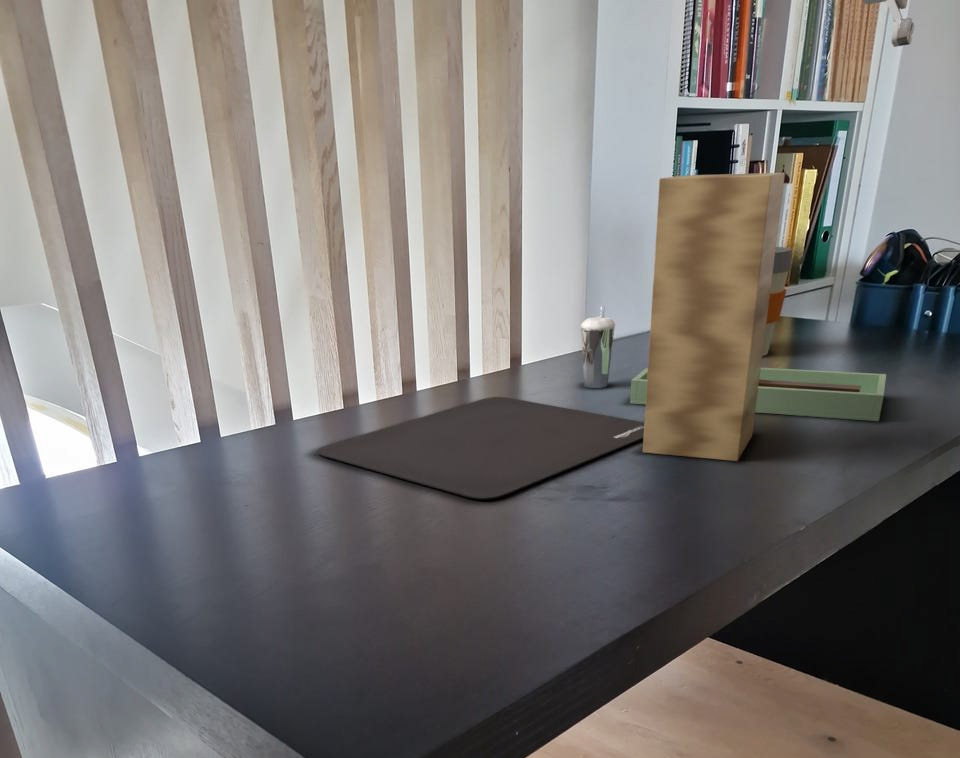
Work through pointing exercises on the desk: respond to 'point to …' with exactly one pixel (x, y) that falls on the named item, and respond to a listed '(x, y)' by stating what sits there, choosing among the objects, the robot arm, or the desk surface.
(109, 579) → the desk surface
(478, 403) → the mouse pad
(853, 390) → the stick
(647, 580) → the desk surface
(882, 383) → the tray
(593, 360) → the milkshake
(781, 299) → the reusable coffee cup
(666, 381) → the stand
